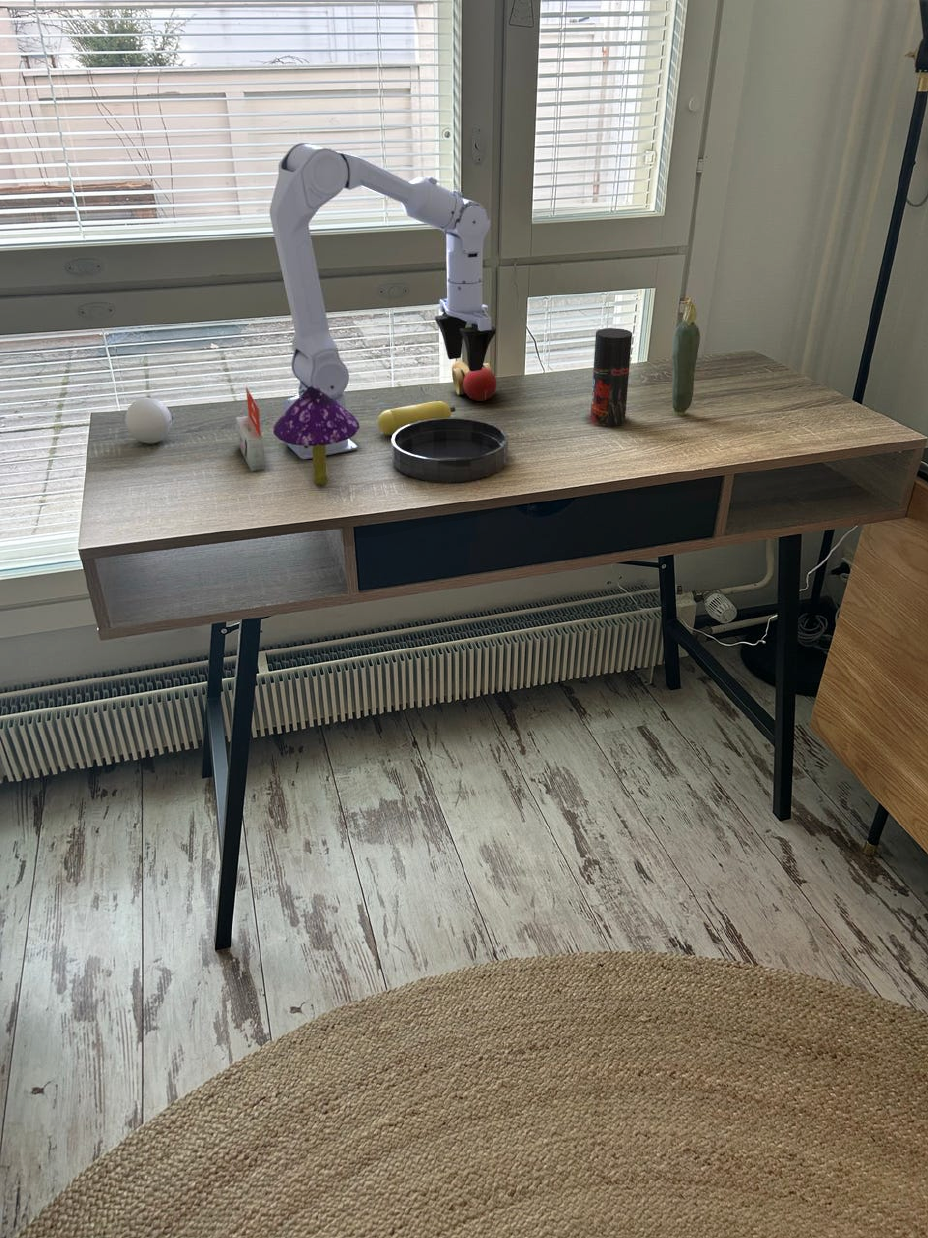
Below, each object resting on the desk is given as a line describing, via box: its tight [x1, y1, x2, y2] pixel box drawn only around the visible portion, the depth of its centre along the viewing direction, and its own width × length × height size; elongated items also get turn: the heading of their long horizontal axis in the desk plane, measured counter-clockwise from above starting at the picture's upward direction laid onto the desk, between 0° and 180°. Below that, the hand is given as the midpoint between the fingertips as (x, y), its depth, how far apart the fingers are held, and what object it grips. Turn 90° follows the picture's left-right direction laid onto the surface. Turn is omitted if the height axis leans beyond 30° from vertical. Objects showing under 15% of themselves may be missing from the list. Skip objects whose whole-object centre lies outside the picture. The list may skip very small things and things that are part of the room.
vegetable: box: [671, 296, 701, 416], centre depth 161 cm, size 4×4×20 cm
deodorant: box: [589, 327, 633, 428], centre depth 161 cm, size 6×6×15 cm
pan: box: [390, 417, 509, 484], centre depth 149 cm, size 18×18×4 cm
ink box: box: [235, 387, 266, 472], centre depth 149 cm, size 2×11×10 cm, turn 21°
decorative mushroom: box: [272, 386, 361, 486], centre depth 139 cm, size 12×12×15 cm
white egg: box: [124, 397, 174, 445], centre depth 157 cm, size 10×7×7 cm
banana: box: [377, 400, 456, 436], centre depth 161 cm, size 14×4×4 cm, turn 118°
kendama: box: [451, 360, 497, 402], centre depth 178 cm, size 8×6×18 cm
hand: (464, 364), depth 160 cm, fingers open, 7 cm apart
